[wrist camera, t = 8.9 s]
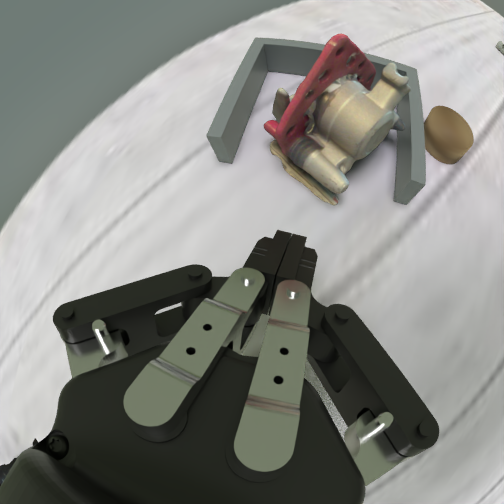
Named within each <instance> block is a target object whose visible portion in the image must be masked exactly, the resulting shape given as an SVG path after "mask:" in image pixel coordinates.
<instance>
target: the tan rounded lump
mask: <svg viewBox="0 0 504 504" xmlns="http://www.w3.org/2000/svg"><path fill="white" fill-rule="evenodd" d="M424 136H425V148H426V150H427V151H428V152H429V153H430V154H431V155H432V156H433V157H434V158H435V159H437V160H438V161H440V162H442V163H445V164H454V163H456V162H458V161H459V159H460V158H461V157H462V156H463V155H464V154H465V153H466V152H467V151H468V150H469V148H470V147H471V146H472V144H473V133H472V131H471V128H470V127H469V125H468V123H467V122H466V121H465V120H464V118H463V117H462V116H461V115H459V114H458V113H457V112H455V111H454V110H452V109H450V108H448V107H445V106H436V107H434V108H433V109H432V110H431V112H430V113H429V115H428V117H427V119H426V120H425V122H424Z"/></svg>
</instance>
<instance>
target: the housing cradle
mask: <svg viewBox="0 0 504 504" xmlns="http://www.w3.org/2000/svg"><path fill="white" fill-rule="evenodd" d="M324 47H325V45H323V44H317V43H310V42H303V41H294V40H285V39H272V38H255V39H254V41H253V43H252V44H251V46H250V48H249V50H248V52H247V53H246V55H245V57H244V59H243V61H242V63H241V65H240V67H239V69H238V70H237V72H236V74H235V76H234V78H233V80H232V82H231V84H230V86H229V88H228V90H227V92H226V94H225V96H224V99H223V101H222V103H221V105H220V107H219V109H218V111H217V113H216V116H215V118H214V120H213V122H212V124H211V127H210V129H209V131H208V133H207V138H208V140H209V142H210V144H211V146H212V148H213V150H214V152H215V154H216V156H217V158H218V160H219V162H226V163H232V162H233V159H234V157H235V154H236V151H237V149H238V146H239V143H240V140H241V138H242V135H243V133H244V130H245V127H246V125H247V122H248V119H249V117H250V114H251V112H252V109H253V107H254V104H255V102H256V99H257V97H258V94H259V92H260V89H261V87H262V84H263V82H264V79H265V77H266V75H267V72H268V71H271V72H281V73H289V74H296V75H303V76H307V75H308V73H309V72H310V70H311V69H312V67H313V65H314V64H315V62H316V61H317V59H318V58H319V56H320V54H321V53H322V50H323V48H324ZM364 54H365V56H366V57H367V59H369V60H370V62H371V63H372V64H373V65H374V67H375V70H376V75H375V77H374V80H373V83H372V85H371V89H372V88H373V87H374V86H375V84H376V83H377V82H378V81H379V80H380V78H381V73H382V70H383V68H384V67H385V66H387V65H388V64H389V63H395V64H396V66H397V71H398V73H399V74H400V75H401V76H407V77H408V78H409V82H408V83H407V84H408V85H409V86H410V88H411V91H410V92H409V93H407V94H406V95H405V96H404V97H403V98H402V100H401V101H400V102H399V103H398V104H397V114H398V115H399V116H400V118H401V120H402V121H403V122H404V124H405V126H406V127H405V129H404V130H403V131H399V130H397V164H396V180H395V193H394V201H396V202H399V203H402V204H406V205H407V204H408V203H409V202H410V201H411V199H412V198H413V197H414V196H415V195H416V194H417V193H418V192H419V191H420V190H421V189H422V188H423V187H424V186H425V182H426V163H425V136H424V122H423V111H422V102H421V94H420V87H419V81H418V75H417V69H415V68H412V67H409V66H406V65H403V64H400V63H397V62H394V61H391V60H388V59H384V58H381V57H377V56H374V55H370V54H366V53H364ZM350 59H351V57H350V58H349V59H348V60H347V63H348V62H349V61H350ZM347 63H346V64H347ZM350 78H352V77H351V76H350ZM346 79H347V80H348V79H349V78H348V77H347V76H346Z"/></svg>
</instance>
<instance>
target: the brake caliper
mask: <svg viewBox="0 0 504 504" xmlns="http://www.w3.org/2000/svg"><path fill="white" fill-rule="evenodd" d="M350 57H351V59H350V61H349V62H348V63H347V60H348V59H349V58H350ZM346 63H347V64H346ZM375 75H376V70H375V67H374V65H373V64H372V63H371V62H370V60H369V59H367V57H366V56H365V54H364V53H363V52H362V51H361V50H360V49H359V48H358V47H357V46H356V44H354V43H353V42H352V41H351V40H350V39H349V38H348V36H346V35H344V34H337V35H335V36H333V37H332V38H331V39H330V40H329V41H328V42H327V43H326V45H325V47H324V48H323V50H322V53H321V54H320V56H319V58H318V59H317V61H316V62H315V64H314V65H313V67H312V69H311V70H310V72H309V73H308V75H307V76H306V78H305V80H304V81H303V82H302V83H301V84H300V85H299V87H298V88H297V91H296V93H295V94H293V95H291V96H290V97H289V95H288V93H287V92H286V91H285V90H284V89H283V88H279V89H278V90H277V92H276V97H275V101H274V104H273V111H272V113H273V115H274V116H275V118H276V119H277V121H275V120H270V121H267V122H266V123H265V124H264V129H265V130H266V131H267V132H268V133H269V134H271V135H272V136H273V137H274V138H275V139H276V140H274V141H273V142H271V144H270V150H271V153H272V154H273V155H276V156H278V157H279V158H280V159H281V160H282V163H283V167H284V169H285V170H286V171H287V172H288V173H289V174H290V175H291V176H292V177H294V178H295V179H297V180H298V181H299V182H302V183H303V184H304V185H305V186H306V187H308V188H309V189H310V190H311V192H312V193H314V194H315V195H316V196H317V197H319V198H320V199H321V200H323V201H324V202H328V203H330V204H332V205H337V203H338V198H337V197H336V196H335V195H334V194H333V193H332V192H334V193H336V194H340V193H342V192H344V191H345V190H346V189H347V188H348V186H349V182H348V180H347V178H346V177H345V174H346V173H347V172H348V171H349V170H350V169H351V167H352V165H353V163H354V162H355V161H356V160H359V159H362V158H364V157H366V156H367V155H368V154H370V153H371V152H372V151H373V150H374V149H375V148H376V147H377V146H378V145H379V144H380V143H381V142H382V141H383V140H384V138H385V137H386V136H387V135H388V133H389V131H390V129H395V130H399V131H403V130H404V129H405V127H406V126H405V124H404V122H403V121H402V120H401V118H400V116H399V115H398V114H397V113H396V112H395V111H394V108H395V107H396V106H397V104H398V103H399V102H400V101H401V100H402V98H403V97H404V96H405V95H406V94H407V93H409V92H410V91H411V88H410V86H409V85H408V84H407V83H408V82H409V78H408V77H407V76H401V75H400V74H399V73H398V71H397V66H396V64H395V63H389V64H388V65H387V66H385V67H384V68H383V70H382V73H381V78H380V80H379V81H378V82H377V83H376V84H375V86H374V87H373V88H372V89H371V85H372V83H373V80H374V77H375ZM346 76H347V77H348V78H349V79H348V80H347V79H346ZM350 76H351V77H352V78H350ZM331 191H332V192H331Z"/></svg>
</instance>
